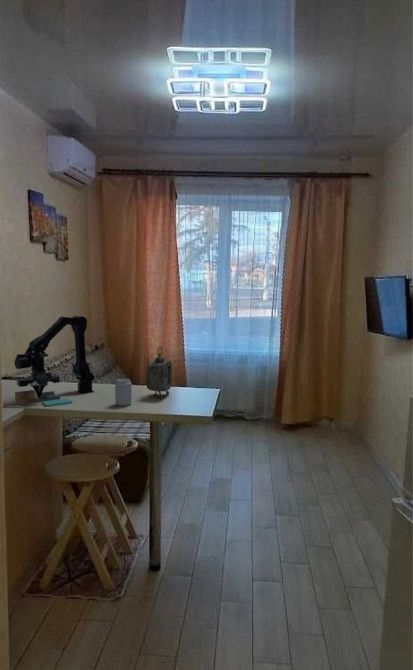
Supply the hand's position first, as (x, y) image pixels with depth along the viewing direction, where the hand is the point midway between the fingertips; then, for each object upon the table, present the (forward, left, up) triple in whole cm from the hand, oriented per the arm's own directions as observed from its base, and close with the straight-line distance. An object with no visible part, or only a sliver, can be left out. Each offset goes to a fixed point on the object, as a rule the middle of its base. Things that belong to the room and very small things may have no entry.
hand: (39, 398), depth 229 cm
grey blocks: (-5, 0, -1) cm, 5 cm away
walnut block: (+6, 0, -1) cm, 6 cm away
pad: (-5, +10, -1) cm, 12 cm away
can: (-30, +29, -1) cm, 42 cm away
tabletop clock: (-52, +24, -1) cm, 58 cm away
